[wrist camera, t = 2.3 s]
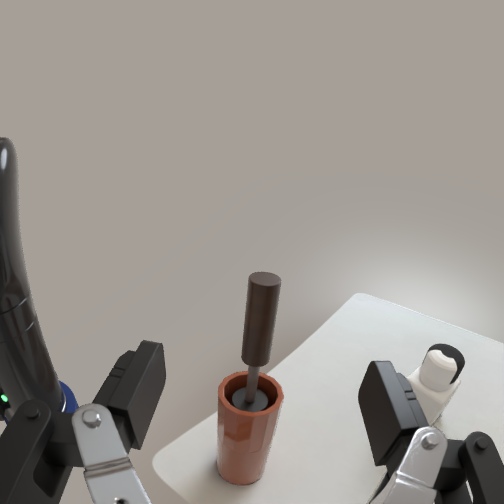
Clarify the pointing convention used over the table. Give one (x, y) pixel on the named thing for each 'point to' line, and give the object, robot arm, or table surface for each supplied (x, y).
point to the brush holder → (245, 430)
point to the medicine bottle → (437, 379)
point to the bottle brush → (257, 337)
